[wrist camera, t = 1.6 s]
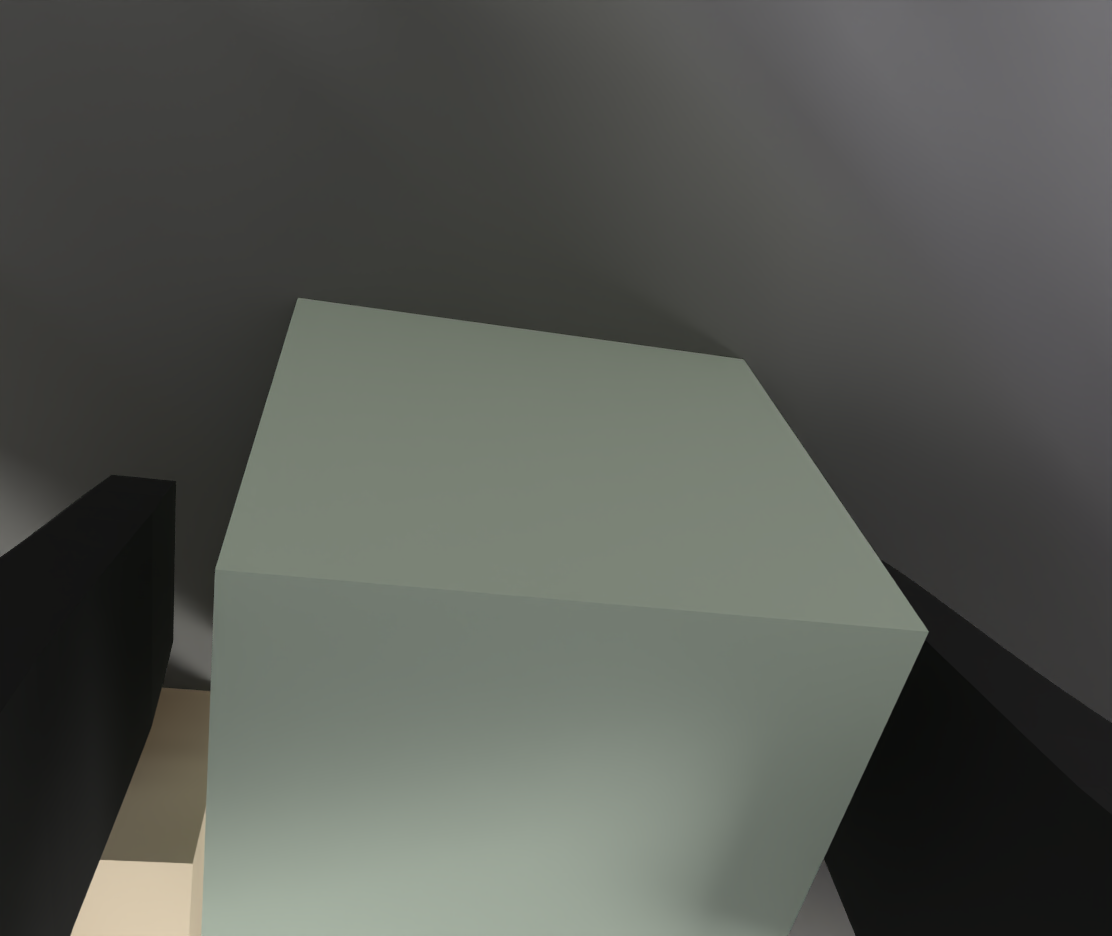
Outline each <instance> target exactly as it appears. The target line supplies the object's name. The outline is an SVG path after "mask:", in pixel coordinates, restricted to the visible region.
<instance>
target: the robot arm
mask: <svg viewBox="0 0 1112 936" xmlns="http://www.w3.org/2000/svg"><path fill="white" fill-rule="evenodd" d="M175 496H176V481H167V480H157V479H148V478H138V477H128V476H118V475H111V476H110V477H108V478H107V479H106V480H104V481H103V482H101V483H100V484H99V485H97V486H96V487H94V488H93V489H92V490H90V491H89V492H87V493H86V494H85V495H83V496H82V497H81V498H79V499H78V500H77V501H75V502H74V503H73V504H71V505H70V506H69V507H67V508H66V509H65V510H63V511H62V512H61V513H60V514H58V515H57V516H56V517H54V518H53V519H52V520H50V521H49V522H48V523H46V524H45V525H44V526H42V527H41V528H40V529H38V530H37V531H36V532H34V533H33V534H32V535H30V536H29V537H28V538H26V539H25V540H24V541H22V542H21V543H20V544H18V545H17V546H15V547H14V548H13V549H11V550H10V551H8V552H7V553H6V554H4V555H3V556H1V557H0V936H71V933H72V930H73V927H74V924H75V922H76V919H77V917H78V914H79V912H80V909H81V907H82V904H83V902H84V899H85V897H86V894H87V891H88V889H89V886H90V884H91V881H92V879H93V876H94V874H95V871H96V869H97V866H98V864H99V861H100V858H101V856H102V853H103V851H104V848H105V846H106V843H107V841H108V838H109V836H110V833H111V830H112V828H113V825H114V823H115V820H116V818H117V815H118V813H119V810H120V808H121V805H122V803H123V800H124V797H125V795H126V792H127V790H128V787H129V785H130V782H131V779H132V777H133V774H134V772H135V769H136V767H137V764H138V761H139V759H140V756H141V754H142V751H143V748H144V746H145V743H146V741H147V738H148V735H149V733H150V730H151V727H152V724H153V720H154V716H155V712H156V708H157V704H158V701H159V697H160V693H161V689H162V685H163V681H164V677H165V672H166V668H167V664H168V660H169V656H170V652H171V648H172V644H173V620H174V558H175ZM880 561H881V562H882V564H883V565H884V566H885V568H886V569H887V571H888V572H889V574H890V575H891V577H892V578H893V580H894V581H895V583H896V584H897V586H898V587H899V589H900V590H901V591H902V593H903V594H904V596H905V597H906V599H907V600H908V602H909V603H910V605H911V606H912V608H913V609H914V611H915V612H916V614H917V615H918V616H919V618H920V619H921V621H922V622H923V624H924V625H925V627H926V628H927V630H928V631H929V632H928V635H927V637H926V639H925V641H924V643H923V645H922V648H921V650H920V652H919V654H918V656H917V658H916V661H915V663H914V665H913V667H912V669H911V671H910V673H909V676H908V678H907V680H906V682H905V684H904V686H903V689H902V691H901V693H900V695H899V697H898V699H897V702H896V704H895V706H894V708H893V710H892V712H891V714H890V717H889V719H888V721H887V723H886V725H885V727H884V730H883V732H882V734H881V736H880V738H879V740H878V742H877V745H876V747H875V749H874V751H873V753H872V755H871V758H870V760H869V762H868V764H867V766H866V768H865V771H864V773H863V775H862V777H861V779H860V781H859V783H858V786H857V788H856V790H855V792H854V794H853V796H852V799H851V801H850V803H849V805H848V807H847V809H846V812H845V814H844V816H843V818H842V820H841V822H840V824H839V827H838V829H837V831H836V833H835V835H834V837H833V840H832V842H831V844H830V846H829V848H828V850H827V853H826V855H825V857H824V860H825V862H826V864H827V867H828V869H829V872H830V874H831V877H832V879H833V881H834V884H835V886H836V889H837V891H838V894H839V896H840V899H841V901H842V903H843V906H844V908H845V911H846V913H847V916H848V918H849V921H850V923H851V925H852V928H853V930H854V933H855V935H856V936H1112V723H1111V722H1109V721H1108V720H1106V719H1105V718H1103V717H1102V716H1100V715H1099V714H1097V713H1096V712H1094V711H1093V710H1091V709H1090V708H1088V707H1087V706H1085V705H1084V704H1082V703H1081V702H1079V701H1078V700H1076V699H1075V698H1073V697H1072V696H1070V695H1069V694H1067V693H1066V692H1064V691H1063V690H1062V689H1060V688H1059V687H1057V686H1056V685H1054V684H1053V683H1052V682H1050V681H1049V680H1047V679H1046V678H1045V677H1043V676H1042V675H1040V674H1039V673H1037V672H1036V671H1035V670H1033V669H1032V668H1030V667H1029V666H1028V665H1026V664H1025V663H1024V662H1022V661H1021V660H1019V659H1018V658H1017V657H1015V656H1014V655H1013V654H1011V653H1010V652H1008V651H1007V650H1006V649H1004V648H1003V647H1002V646H1000V645H999V644H998V643H996V642H995V641H993V640H992V639H991V638H989V637H988V636H987V635H985V634H984V633H983V632H981V631H980V630H979V629H977V628H976V627H975V626H973V625H972V624H971V623H969V622H968V621H967V620H965V619H964V618H962V617H961V616H960V615H958V614H957V613H956V612H954V611H953V610H952V609H950V608H949V607H948V606H946V605H945V604H944V603H942V602H941V601H940V600H938V599H937V598H936V597H934V596H933V595H931V594H930V593H929V592H927V591H926V590H925V589H923V588H922V587H920V586H919V585H918V584H916V583H915V582H913V581H912V580H911V579H909V578H908V577H906V576H905V575H903V574H902V573H900V572H899V571H898V570H896V569H895V568H893V567H892V566H890V565H888V564H887V563H885V562H884V561H882V560H880Z"/></svg>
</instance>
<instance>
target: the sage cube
mask: <svg viewBox="0 0 1112 936" xmlns="http://www.w3.org/2000/svg"><path fill="white" fill-rule="evenodd" d="M928 632H929V631H928V630H927V628H926V627H925V625H924V624H923V622H922V621H921V619H920V618H919V616H918V615H917V614H916V612H915V611H914V609H913V608H912V606H911V605H910V603H909V602H908V600H907V599H906V597H905V596H904V594H903V593H902V591H901V590H900V589H899V587H898V586H897V584H896V583H895V581H894V580H893V578H892V577H891V575H890V574H889V572H888V571H887V569H886V568H885V566H884V565H883V564H882V562H881V561H880V559H879V558H878V556H877V555H876V553H875V552H874V550H873V549H872V547H871V546H870V544H869V543H868V541H867V540H866V539H865V537H864V536H863V534H862V533H861V531H860V530H859V528H858V527H857V525H856V524H855V522H854V521H853V519H852V518H851V516H850V515H849V514H848V512H847V511H846V509H845V508H844V506H843V505H842V503H841V502H840V500H839V499H838V497H837V496H836V494H835V493H834V491H833V490H832V489H831V487H830V486H829V484H828V483H827V481H826V480H825V478H824V477H823V475H822V474H821V472H820V471H819V469H818V468H817V466H816V465H815V464H814V462H813V461H812V459H811V458H810V456H809V455H808V453H807V452H806V450H805V449H804V447H803V446H802V444H801V443H800V441H799V440H798V439H797V437H796V436H795V434H794V433H793V431H792V430H791V428H790V427H789V425H788V424H787V422H786V421H785V419H784V418H783V416H782V415H781V414H780V412H779V411H778V409H777V408H776V406H775V405H774V403H773V402H772V400H771V399H770V397H769V396H768V394H767V393H766V391H765V390H764V389H763V387H762V386H761V384H760V383H759V381H758V380H757V378H756V377H755V375H754V374H753V372H752V371H751V369H750V368H749V366H748V365H747V364H746V362H745V361H744V359H737V358H730V357H723V356H716V355H708V354H701V353H694V352H687V351H680V350H672V349H665V348H658V347H651V346H643V345H636V344H629V343H622V342H614V341H607V340H600V339H593V338H586V337H578V336H571V335H564V334H557V333H549V332H542V331H535V330H528V329H520V328H513V327H506V326H499V325H492V324H484V323H477V322H470V321H463V320H455V319H448V318H441V317H434V316H427V315H419V314H412V313H405V312H398V311H390V310H383V309H376V308H369V307H361V306H354V305H347V304H340V303H333V302H325V301H318V300H311V299H304V298H298V299H297V302H296V305H295V309H294V312H293V315H292V318H291V322H290V325H289V328H288V332H287V335H286V338H285V341H284V345H283V348H282V351H281V355H280V358H279V361H278V364H277V368H276V371H275V374H274V378H273V381H272V384H271V387H270V391H269V394H268V397H267V401H266V404H265V407H264V410H263V414H262V417H261V420H260V424H259V427H258V430H257V433H256V437H255V440H254V443H253V447H252V450H251V453H250V456H249V460H248V463H247V466H246V470H245V473H244V476H243V479H242V483H241V486H240V489H239V493H238V496H237V499H236V502H235V506H234V509H233V512H232V516H231V519H230V522H229V525H228V529H227V532H226V535H225V539H224V542H223V545H222V548H221V552H220V555H219V558H218V562H217V565H216V568H215V585H214V611H213V638H212V664H211V691H210V717H209V743H208V770H207V796H206V823H205V849H204V876H203V902H202V928H201V936H788V934H789V932H790V930H791V928H792V926H793V924H794V922H795V919H796V917H797V915H798V913H799V911H800V909H801V906H802V904H803V902H804V900H805V898H806V896H807V893H808V891H809V889H810V887H811V885H812V883H813V881H814V878H815V876H816V874H817V872H818V870H819V868H820V865H821V863H822V861H823V859H824V857H825V855H826V853H827V850H828V848H829V846H830V844H831V842H832V840H833V837H834V835H835V833H836V831H837V829H838V827H839V824H840V822H841V820H842V818H843V816H844V814H845V812H846V809H847V807H848V805H849V803H850V801H851V799H852V796H853V794H854V792H855V790H856V788H857V786H858V783H859V781H860V779H861V777H862V775H863V773H864V771H865V768H866V766H867V764H868V762H869V760H870V758H871V755H872V753H873V751H874V749H875V747H876V745H877V742H878V740H879V738H880V736H881V734H882V732H883V730H884V727H885V725H886V723H887V721H888V719H889V717H890V714H891V712H892V710H893V708H894V706H895V704H896V702H897V699H898V697H899V695H900V693H901V691H902V689H903V686H904V684H905V682H906V680H907V678H908V676H909V673H910V671H911V669H912V667H913V665H914V663H915V661H916V658H917V656H918V654H919V652H920V650H921V648H922V645H923V643H924V641H925V639H926V637H927V635H928Z"/></svg>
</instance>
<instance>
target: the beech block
mask: <svg viewBox="0 0 1112 936" xmlns="http://www.w3.org/2000/svg"><path fill="white" fill-rule="evenodd" d="M209 717H210V691H201V690H188V689H174V688H162V689H161V693H160V697H159V701H158V704H157V708H156V712H155V716H154V720H153V724H152V727H151V730H150V733H149V735H148V738H147V741H146V743H145V746H144V748H143V751H142V754H141V756H140V759H139V761H138V764H137V767H136V769H135V772H134V774H133V777H132V779H131V782H130V785H129V787H128V790H127V792H126V795H125V797H124V800H123V803H122V805H121V808H120V810H119V813H118V815H117V818H116V820H115V823H114V825H113V828H112V830H111V833H110V836H109V838H108V841H107V843H106V846H105V848H104V851H103V853H102V856H101V858H100V861H99V864H98V866H97V869H96V871H95V874H94V876H93V879H92V881H91V884H90V886H89V889H88V891H87V894H86V897H85V899H84V902H83V904H82V907H81V909H80V912H79V914H78V917H77V919H76V922H75V924H74V927H73V930H72V933H71V936H201V928H202V902H203V876H204V849H205V823H206V796H207V770H208V743H209Z"/></svg>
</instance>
